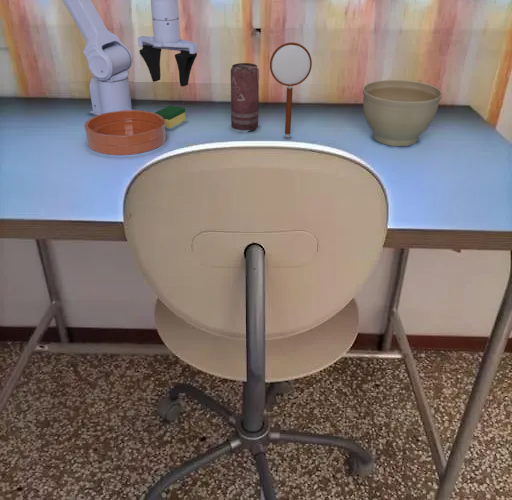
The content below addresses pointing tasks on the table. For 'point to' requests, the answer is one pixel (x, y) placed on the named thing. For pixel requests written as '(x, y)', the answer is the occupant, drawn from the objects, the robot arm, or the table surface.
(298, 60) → the magnifying glass
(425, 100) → the planter bowl
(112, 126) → the bowl
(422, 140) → the table surface
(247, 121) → the can
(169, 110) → the sponge
